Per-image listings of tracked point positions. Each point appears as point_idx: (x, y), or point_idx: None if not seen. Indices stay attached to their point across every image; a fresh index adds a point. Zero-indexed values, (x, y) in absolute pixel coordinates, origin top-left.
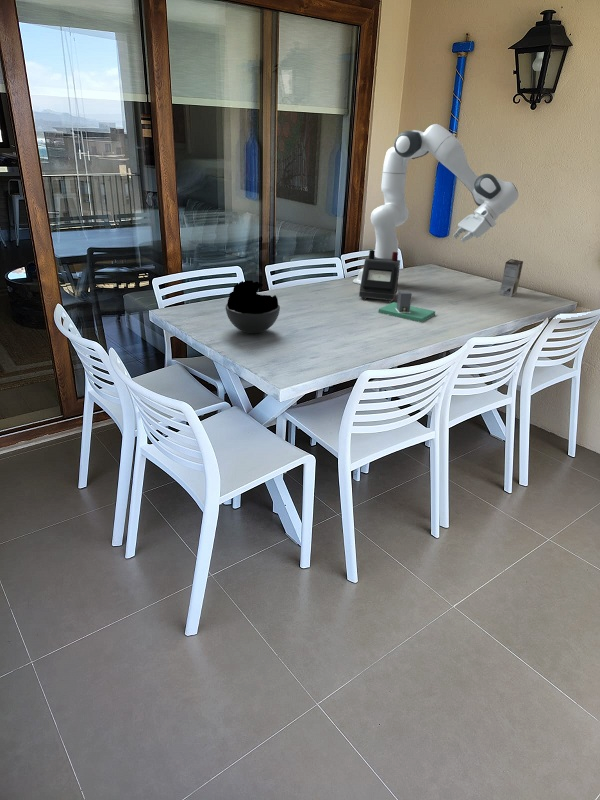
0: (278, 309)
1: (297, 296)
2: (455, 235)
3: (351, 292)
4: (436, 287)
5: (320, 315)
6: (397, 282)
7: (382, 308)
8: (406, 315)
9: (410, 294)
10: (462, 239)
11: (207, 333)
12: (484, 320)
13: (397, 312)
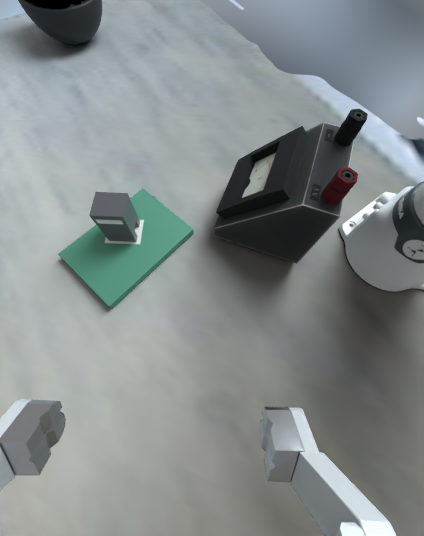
0: (33, 8)
1: (251, 95)
2: (268, 427)
3: None
4: (403, 419)
5: (138, 109)
6: (289, 245)
7: (146, 196)
8: (90, 229)
9: (91, 214)
10: (11, 412)
11: None
12: None
13: None
